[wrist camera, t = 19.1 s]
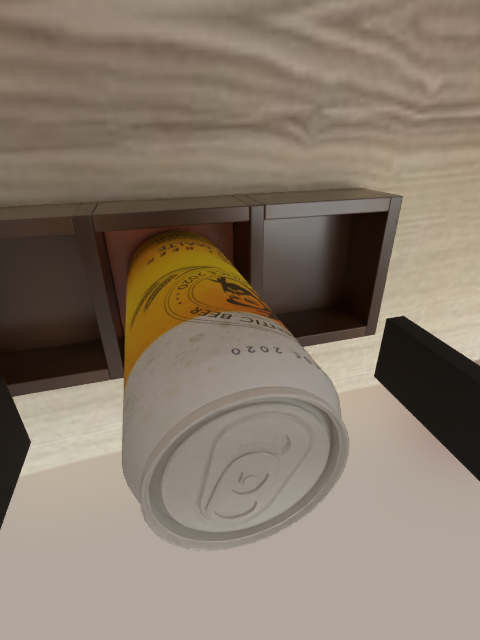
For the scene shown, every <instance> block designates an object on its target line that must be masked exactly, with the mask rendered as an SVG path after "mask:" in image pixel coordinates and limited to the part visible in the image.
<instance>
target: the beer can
mask: <svg viewBox="0 0 480 640" xmlns="http://www.w3.org/2000/svg"><path fill="white" fill-rule="evenodd" d="M348 452H349V437H348V432H347V429H346V427H345V424H344V422H343V420H342V417H341V409H340V403H339V398H338V394H337V392H336V389H335V387H334V385H333V383H332V382H331V380H330V378H329V377H328V376H327V375H326V374H325V373H324V371H323V370H322V369H321V368H320V367H319V366H318V364H317V363H316V362H315V361H314V360H313V359H312V357H311V356H310V355H309V354H308V353H307V352H306V350H305V349H304V348H303V347H302V346H301V345H300V343H299V342H298V341H297V340H296V339H295V337H294V336H293V335H292V334H291V333H290V332H289V330H288V329H287V328H286V327H285V326H284V325H283V323H282V322H281V321H280V320H279V319H278V318H277V316H276V315H275V314H274V313H273V312H272V311H271V309H270V308H269V307H268V306H267V305H266V304H265V302H264V301H263V300H262V299H261V298H260V297H259V295H258V294H257V293H256V292H255V291H254V289H253V288H252V287H251V286H250V285H249V284H248V282H247V281H246V280H245V279H244V278H243V277H242V275H241V274H240V273H239V272H238V271H237V270H236V268H235V267H234V266H233V265H232V264H231V263H230V261H229V260H228V259H227V258H226V257H225V256H224V254H223V253H222V252H221V251H220V250H219V248H218V247H217V246H216V245H215V244H214V243H213V242H211V241H210V240H209V239H207V238H206V237H204V236H202V235H199V234H197V233H194V232H190V231H182V230H176V231H168V232H164V233H161V234H158V235H156V236H154V237H152V238H150V239H149V240H147V241H146V242H145V243H144V244H142V245H141V246H140V248H139V249H138V250H137V251H136V252H135V254H134V256H133V257H132V259H131V261H130V264H129V267H128V271H127V288H126V325H125V362H124V399H123V436H122V467H123V473H124V476H125V479H126V482H127V484H128V486H129V488H130V489H131V491H132V493H133V494H134V496H135V497H136V498H137V500H138V502H139V503H140V505H141V511H142V514H143V516H144V519H145V521H146V523H147V524H148V526H149V527H150V528H151V530H152V531H153V532H154V533H155V534H156V535H158V536H159V537H160V538H162V539H163V540H165V541H167V542H169V543H171V544H174V545H176V546H179V547H182V548H187V549H193V550H203V551H212V550H213V551H215V550H226V549H232V548H237V547H241V546H245V545H249V544H253V543H256V542H259V541H261V540H264V539H266V538H269V537H271V536H273V535H275V534H278V533H280V532H281V531H283V530H285V529H287V528H289V527H290V526H292V525H293V524H295V523H297V522H298V521H300V520H301V519H302V518H304V517H305V516H306V515H307V514H309V513H310V512H311V511H312V510H314V509H315V508H316V507H317V506H318V505H319V504H320V503H321V502H322V501H323V500H324V499H325V498H326V497H327V495H328V494H329V493H330V492H331V490H332V489H333V488H334V486H335V485H336V483H337V482H338V480H339V478H340V476H341V475H342V473H343V470H344V468H345V465H346V462H347V458H348V454H349V453H348Z"/></svg>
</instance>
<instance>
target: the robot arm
mask: <svg viewBox="0 0 480 640" xmlns="http://www.w3.org/2000/svg"><path fill="white" fill-rule="evenodd" d="M374 377H375V378H376V379H377V380H378V381H379V382H380V383H381V384H382V385H383V386H384V387H385V388H386V389H387V390H388V391H389V392H390V393H391V394H392V395H393V396H394V397H395V398H397V399H398V400H399V402H400V403H401V404H402V405H404V406H405V407H406V409H408V411H409V412H411V413H412V414H413V415H414V416H415V417H416V418H417V419H418V420H419V421H420V422H421V423H422V424H423V425H424V426H425V427H426V428H427V429H428V430H429V431H430V432H431V433H432V434H433V435H434V436H435V437H436V438H437V439H438V440H439V441H440V442H441V443H442V444H443V445H444V446H445V447H446V448H447V449H448V450H449V451H450V452H451V453H452V454H453V455H454V456H455V457H456V458H457V459H458V460H459V461H460V462H461V463H462V464H463V465H464V466H465V467H466V468H467V469H468V470H469V471H470V472H471V473H472V474H473V475H474V476H475V477H476V478H477V479H478V480H479V481H480V366H479V365H478V364H476V363H475V362H473V361H472V360H470V359H468V358H467V357H465V356H464V355H462V354H461V353H459V352H458V351H456V350H455V349H453V348H452V347H450V346H449V345H447V344H446V343H444V342H443V341H441V340H440V339H438V338H436V337H435V336H433V335H432V334H430V333H429V332H427V331H426V330H424V329H423V328H421V327H420V326H418V325H417V324H415V323H414V322H412V321H411V320H409V319H408V318H406V317H404V316H401V317H394V318H387V320H386V324H385V329H384V333H383V338H382V342H381V347H380V352H379V356H378V361H377V365H376V370H375V374H374ZM30 444H31V441H30V439H29V436H28V434H27V432H26V429H25V427H24V424H23V422H22V420H21V417H20V415H19V413H18V410H17V408H16V406H15V403H14V401H13V399H12V396H11V394H10V391H9V389H8V387H7V384H6V382H5V380H4V377H3V376H1V377H0V529H1V526H2V523H3V520H4V517H5V515H6V512H7V509H8V506H9V503H10V500H11V498H12V495H13V492H14V489H15V486H16V483H17V480H18V478H19V475H20V472H21V469H22V467H23V464H24V461H25V458H26V455H27V452H28V450H29V447H30Z"/></svg>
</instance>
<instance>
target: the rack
mask: <svg viewBox="0 0 480 640" xmlns="http://www.w3.org/2000/svg"><path fill="white" fill-rule="evenodd" d="M402 198H403V196H400V195H394V194H389V193H384V192H379V191H374V190H369V189H364V188H355V189H336V190H317V191H298V192H279V193H260V194H241V195H222V196H203V197H184V198H165V199H146V200H127V201H107V202H88V203H69V204H50V205H31V206H12V207H0V377H1V376H3V377H4V380H5V382H6V384H7V387H8V389H9V391H10V394H11V396H12V397H14V396H19V395H25V394H31V393H37V392H43V391H48V390H54V389H60V388H66V387H72V386H78V385H83V384H89V383H95V382H101V381H107V380H110V379H111V380H113V379H118V378H124V362H125V325H126V288H127V271H128V267H129V264H130V261H131V259H132V257H133V256H134V254H135V252H136V251H137V250H138V249H139V248H140V246H141V245H142V244H144V243H145V242H146V241H147V240H149V239H150V238H152V237H154V236H156V235H158V234H161V233H164V232H168V231H176V230H182V231H190V232H194V233H197V234H199V235H202V236H204V237H206V238H207V239H209V240H210V241H211V242H213V243H214V244H215V245H216V246H217V247H218V248H219V250H220V251H221V252H222V253H223V254H224V256H225V257H226V258H227V259H228V260H229V261H230V263H231V264H232V265H233V266H234V267H235V268H236V270H237V271H238V272H239V273H240V274H241V275H242V277H243V278H244V279H245V280H246V281H247V282H248V284H249V285H250V286H251V287H252V288H253V289H254V291H255V292H256V293H257V294H258V295H259V297H260V298H261V299H262V300H263V301H264V302H265V304H266V305H267V306H268V307H269V308H270V309H271V311H272V312H273V313H274V314H275V315H276V316H277V318H278V319H279V320H280V321H281V322H282V323H283V325H284V326H285V327H286V328H287V329H288V330H289V332H290V333H291V334H292V335H293V336H294V337H295V339H296V340H297V341H298V342H299V343H300V345H301V346H302V347H305V346H311V345H317V344H322V343H328V342H334V341H340V340H346V339H352V338H357V337H363V336H369V335H374V334H375V332H376V327H377V322H378V317H379V312H380V307H381V302H382V297H383V292H384V287H385V282H386V277H387V272H388V267H389V262H390V257H391V252H392V247H393V242H394V237H395V233H396V228H397V223H398V218H399V213H400V208H401V203H402Z"/></svg>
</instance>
